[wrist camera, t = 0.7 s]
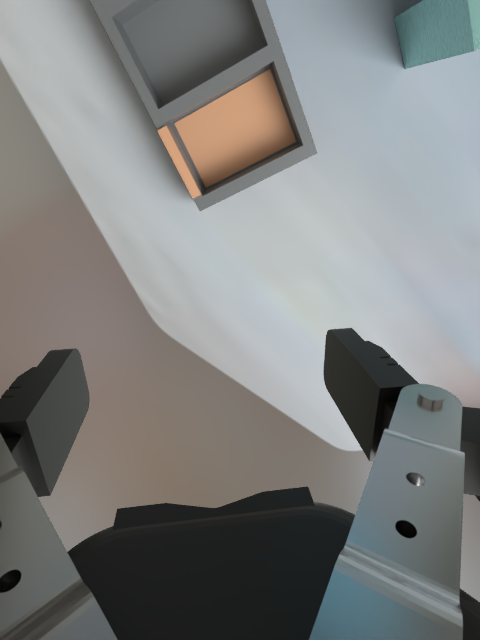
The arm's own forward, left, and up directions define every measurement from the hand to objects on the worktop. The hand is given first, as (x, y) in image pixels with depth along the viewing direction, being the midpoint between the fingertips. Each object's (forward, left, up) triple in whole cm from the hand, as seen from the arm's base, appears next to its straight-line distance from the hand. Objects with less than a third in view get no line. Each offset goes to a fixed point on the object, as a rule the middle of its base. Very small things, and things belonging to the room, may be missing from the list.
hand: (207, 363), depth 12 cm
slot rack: (-12, +3, -25) cm, 28 cm away
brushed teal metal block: (-5, +19, -25) cm, 32 cm away
